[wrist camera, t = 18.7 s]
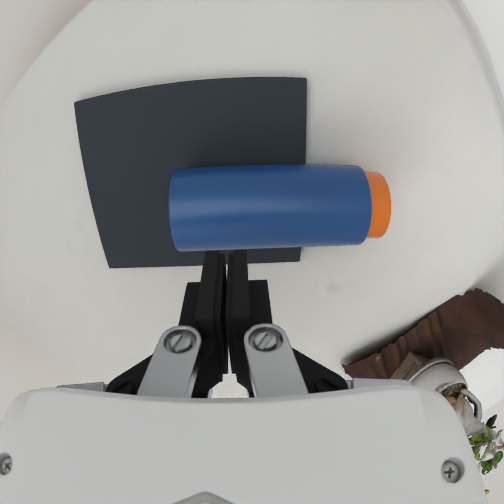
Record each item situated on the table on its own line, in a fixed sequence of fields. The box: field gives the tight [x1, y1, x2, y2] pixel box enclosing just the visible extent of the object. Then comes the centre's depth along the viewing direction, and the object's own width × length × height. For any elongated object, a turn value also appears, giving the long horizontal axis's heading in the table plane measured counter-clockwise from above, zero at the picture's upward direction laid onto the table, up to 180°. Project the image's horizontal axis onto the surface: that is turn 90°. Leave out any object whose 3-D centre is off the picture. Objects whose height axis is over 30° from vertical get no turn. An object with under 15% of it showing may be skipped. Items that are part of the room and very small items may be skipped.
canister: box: [169, 164, 391, 252], centre depth 19 cm, size 5×5×13 cm
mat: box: [74, 77, 307, 268], centre depth 21 cm, size 16×14×1 cm
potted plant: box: [341, 288, 504, 494], centre depth 25 cm, size 20×19×25 cm
